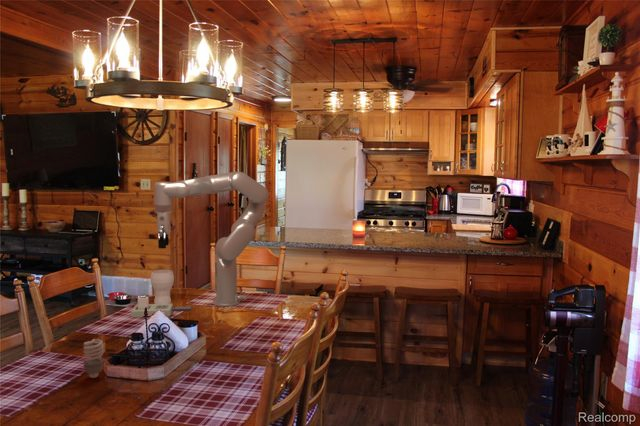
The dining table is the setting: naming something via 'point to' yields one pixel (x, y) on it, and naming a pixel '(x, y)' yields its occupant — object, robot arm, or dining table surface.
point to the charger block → (143, 303)
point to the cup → (162, 285)
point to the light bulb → (94, 363)
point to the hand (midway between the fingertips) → (163, 246)
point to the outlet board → (152, 309)
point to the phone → (182, 309)
